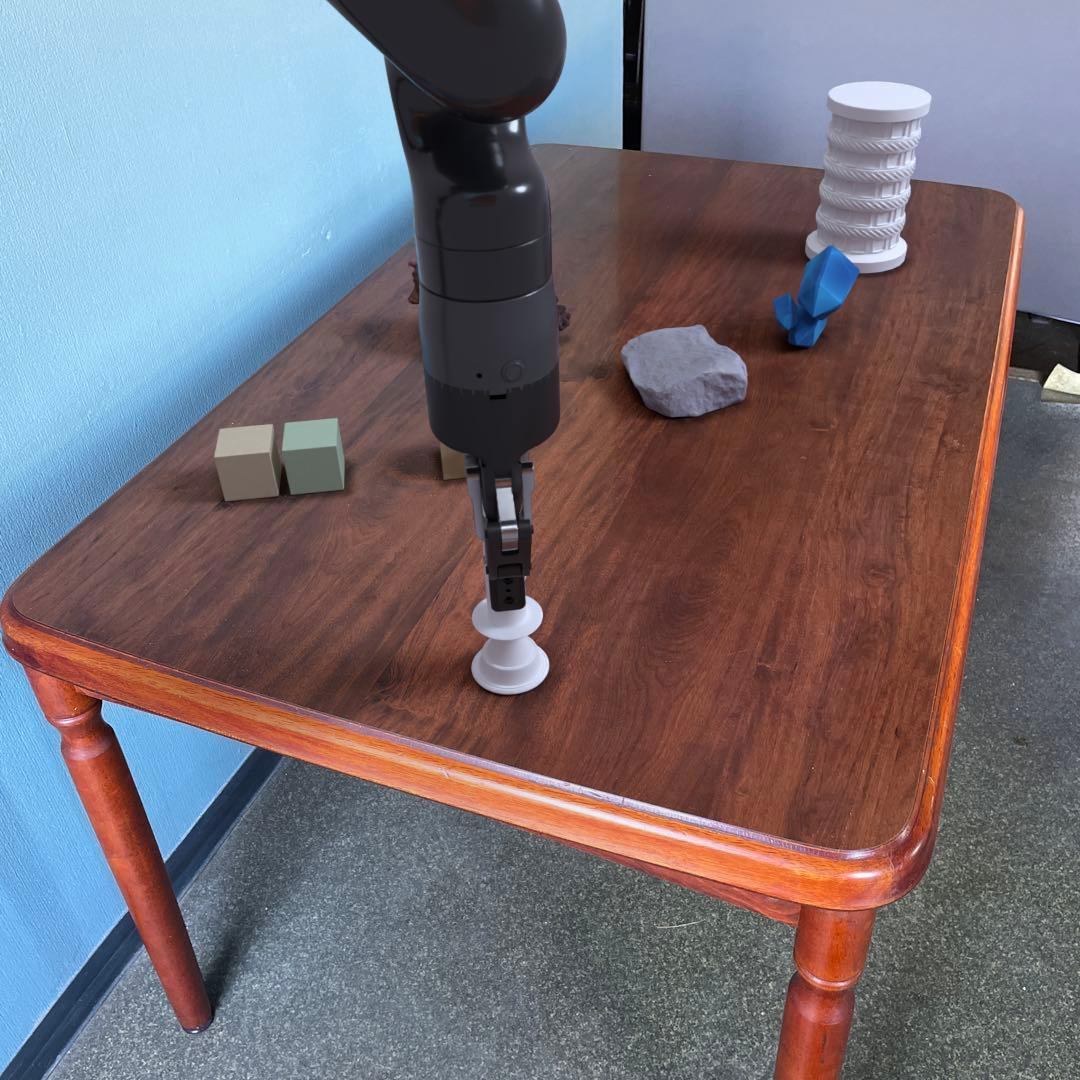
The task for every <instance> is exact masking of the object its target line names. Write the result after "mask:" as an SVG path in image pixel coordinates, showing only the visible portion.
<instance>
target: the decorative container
mask: <svg viewBox="0 0 1080 1080" xmlns="http://www.w3.org/2000/svg"><path fill="white" fill-rule="evenodd" d="M932 97H933V96H932V95H931V94H930V92H928V91H926V90H925V89H923V88H920V87H918V86H915V85H910V84H906V83H900V82H892V81H878V80H876V81H855V82H848V83H842V84H840V85H836V86H834V87H832V88H830V89H829V91H828V93H827V100H826V101H827V102H826V108H827V110H828V111H829V112H831V121H830V122H829V123H828V126H827V127H826V140H827V150H826V151H825V153H824V155H823V158H822V167H823V170H824V175H823V178H822V179H821V182H820V184H819V186H818V189H819V190H818V192H819V197H820V204H819V205H818V207H817V210H816V212H815V223H816V225H817V226H816V227H817V228H816V230H813V231H812V232H811V233H809V234H808V235H807V237H806V240H805V245H804V246H805V247H804V252H805V255H806V256H807V258H808V259H809V261H810V260H812V259H813V258H814V257H815V256H817V255H818V254H819V253H820V252H822V251H823V250H824V249H825V248H827V247H828V246H829V245H832V246H834V247H836V248H837V249H838V250H840V251H841V252H842V253H843V254H844V255H845V256H846V257H847V258H848V259H849V260H850V261H851V262H852V263H853V264H854V265H855V266H856V267H858V268H859V272H860V273H859V274H874V273H883V272H886V271H890V270H893V269H895V268H897V267H900V266H901V265H902V264H903V263H904V262H905V260H906V256H907V250H908V244H907V242H906V240H905V239H904V238H903V237H901V232H902V231H903V230H904V227H905V225H906V221H907V219H906V214H907V213H906V206H907V205H906V204H908V203H909V200H910V197H911V194H912V190H911V189H912V188H911V187H912V186H911V184H910V183H911V177H912V175H913V174H914V172H915V170H916V167H917V157H916V156H915V155H916V149H917V146H919V143H920V141H921V140H922V139H921V138H922V128H921V122H922V117H925V116H926V115H928V114H929V112H930V108H931V104H932Z"/></svg>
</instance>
